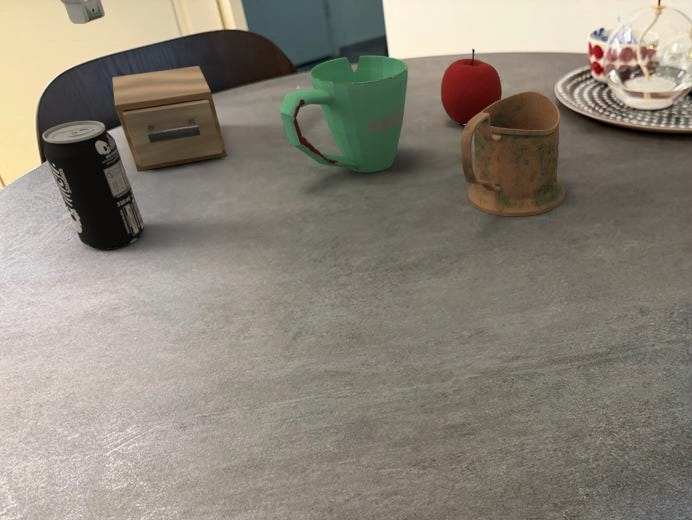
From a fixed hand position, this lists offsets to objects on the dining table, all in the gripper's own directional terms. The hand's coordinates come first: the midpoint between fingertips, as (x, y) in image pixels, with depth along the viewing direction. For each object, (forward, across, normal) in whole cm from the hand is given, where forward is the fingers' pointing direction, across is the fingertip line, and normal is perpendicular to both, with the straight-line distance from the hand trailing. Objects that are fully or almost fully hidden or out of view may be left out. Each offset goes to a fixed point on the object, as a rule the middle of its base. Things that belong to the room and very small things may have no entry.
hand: (88, 20), depth 68 cm
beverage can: (+21, +5, -1) cm, 22 cm away
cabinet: (+21, -21, -10) cm, 31 cm away
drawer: (+20, -18, -8) cm, 28 cm away
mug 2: (+21, -10, +39) cm, 46 cm away
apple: (+21, -38, +29) cm, 52 cm away
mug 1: (+21, -17, +18) cm, 33 cm away
